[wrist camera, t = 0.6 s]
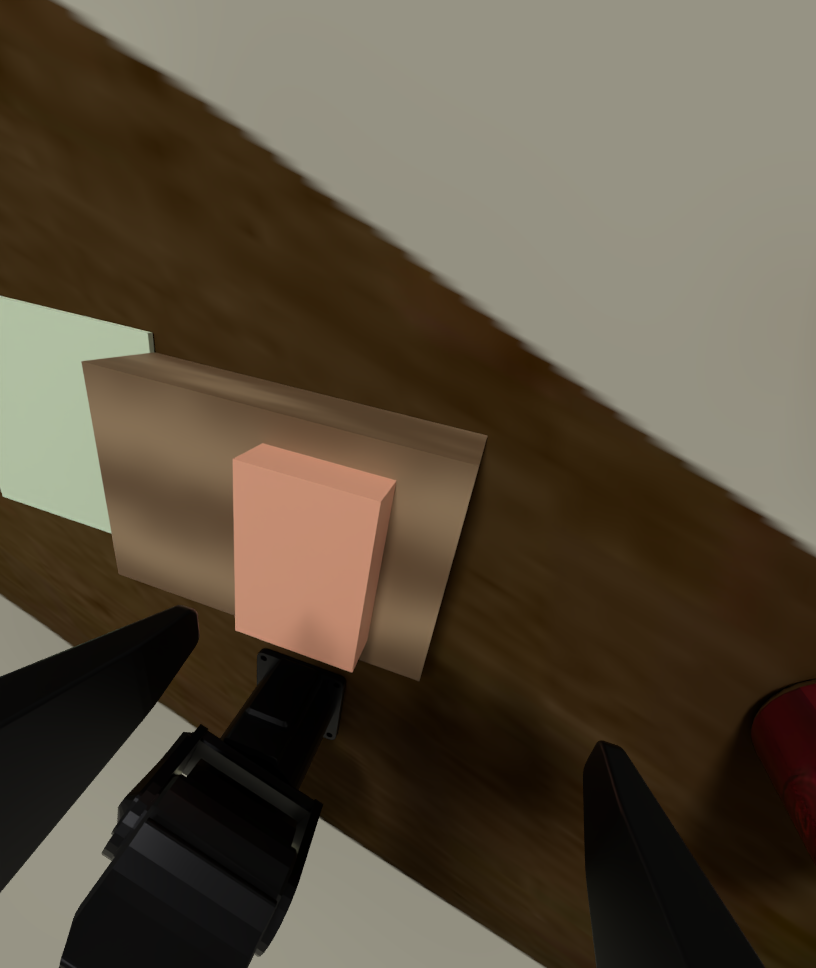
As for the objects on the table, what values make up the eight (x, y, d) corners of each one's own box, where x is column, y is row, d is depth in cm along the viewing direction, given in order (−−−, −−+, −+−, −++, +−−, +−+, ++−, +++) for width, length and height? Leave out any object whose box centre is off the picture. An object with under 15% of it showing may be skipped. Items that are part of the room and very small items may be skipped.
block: (367, 640, 20) (352, 672, 18) (259, 603, 21) (235, 630, 19) (396, 480, 16) (381, 501, 14) (262, 443, 17) (232, 458, 15)
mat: (173, 550, 27) (170, 553, 27) (7, 494, 29) (2, 496, 29) (152, 332, 21) (147, 332, 21) (-56, 282, 23) (-63, 281, 23)
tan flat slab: (434, 625, 24) (419, 681, 20) (172, 538, 27) (118, 573, 23) (487, 435, 19) (478, 466, 15) (154, 352, 21) (81, 361, 18)
